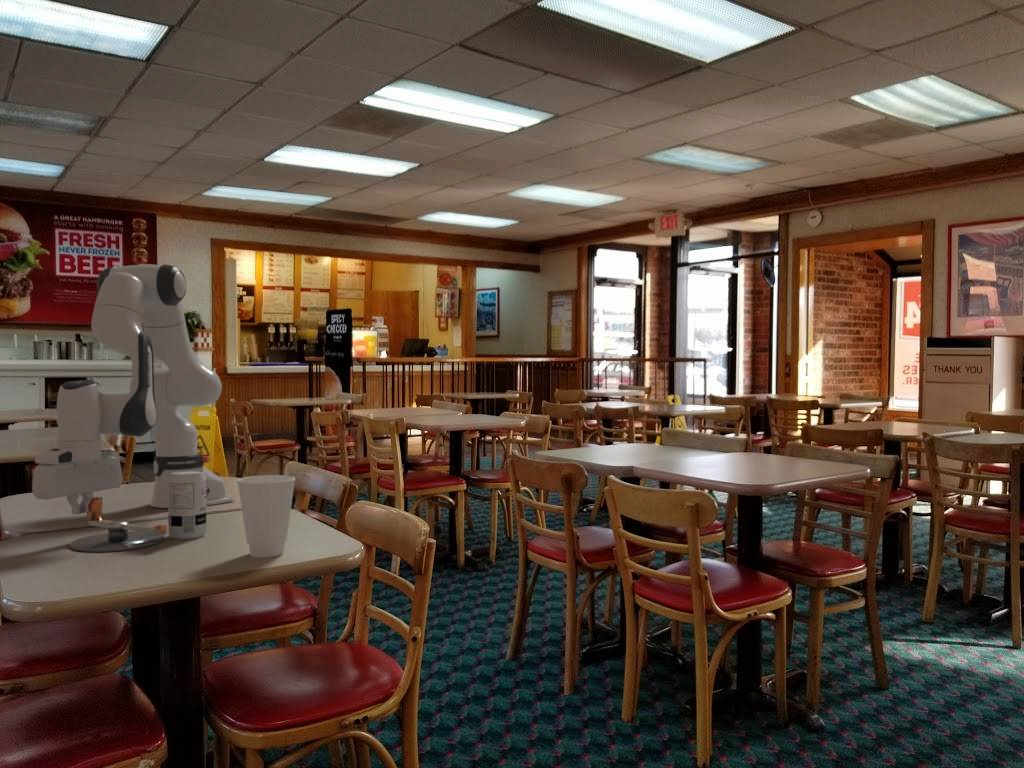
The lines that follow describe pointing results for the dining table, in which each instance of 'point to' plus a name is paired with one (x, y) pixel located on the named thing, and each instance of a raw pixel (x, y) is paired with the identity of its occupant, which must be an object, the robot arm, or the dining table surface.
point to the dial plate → (116, 541)
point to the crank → (97, 515)
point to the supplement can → (187, 504)
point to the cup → (266, 512)
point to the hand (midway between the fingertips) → (80, 513)
